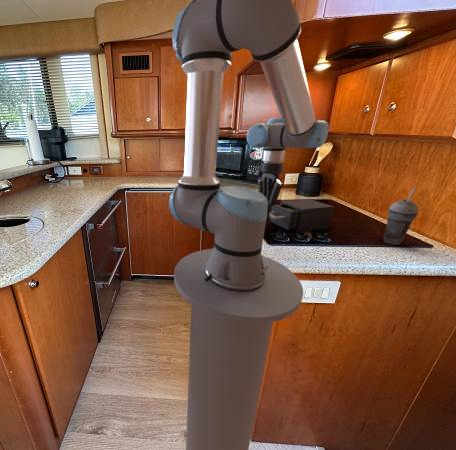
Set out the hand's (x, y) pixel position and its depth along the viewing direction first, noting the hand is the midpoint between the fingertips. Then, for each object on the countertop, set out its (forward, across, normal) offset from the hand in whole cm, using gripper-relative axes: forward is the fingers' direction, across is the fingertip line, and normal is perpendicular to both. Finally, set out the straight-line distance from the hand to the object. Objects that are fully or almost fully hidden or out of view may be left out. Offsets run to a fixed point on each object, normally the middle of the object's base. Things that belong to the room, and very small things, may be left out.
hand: (264, 220), depth 99 cm
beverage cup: (+4, -23, -36) cm, 43 cm away
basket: (+3, 0, -11) cm, 12 cm away
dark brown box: (+4, 0, -19) cm, 19 cm away
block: (+2, 0, -13) cm, 13 cm away
